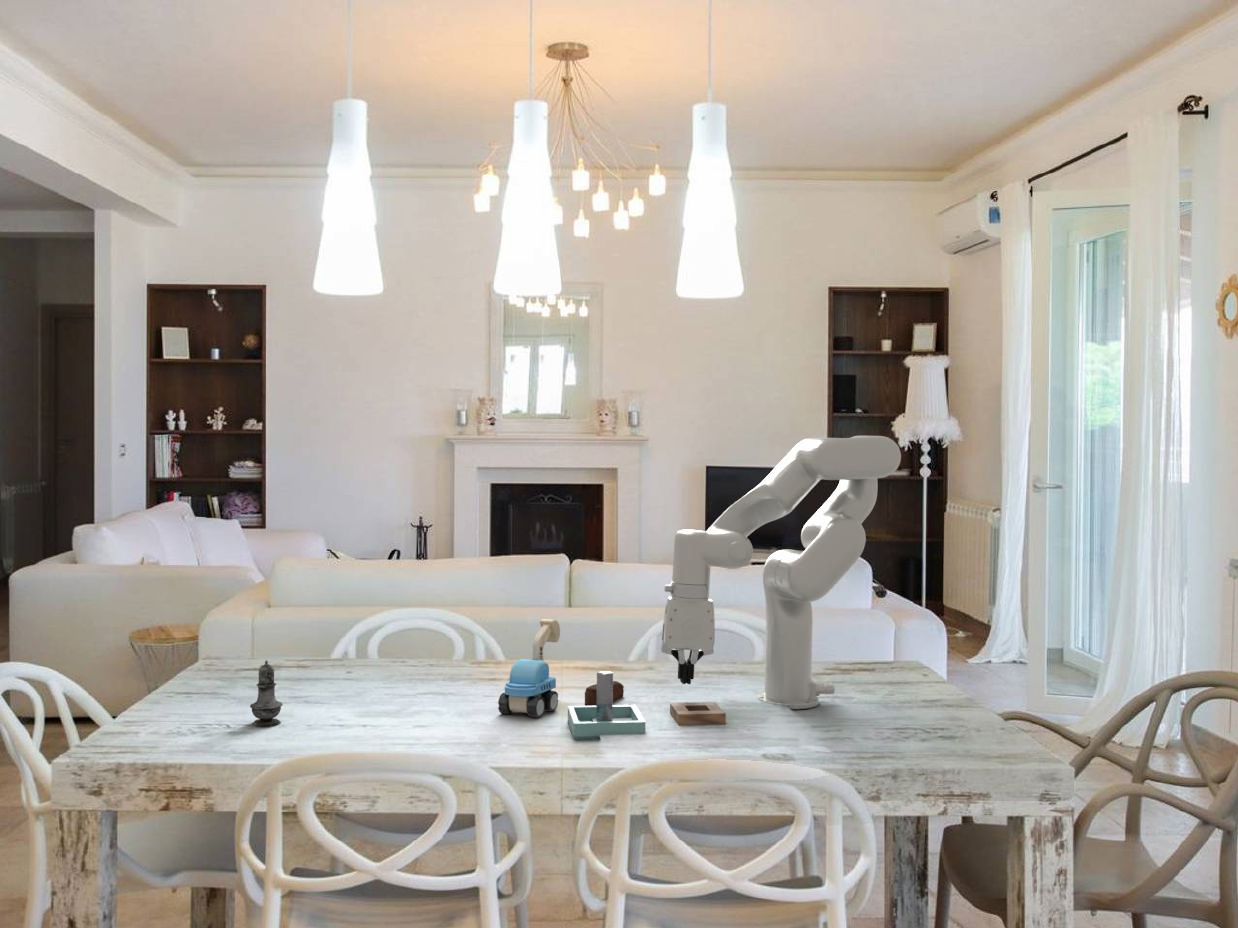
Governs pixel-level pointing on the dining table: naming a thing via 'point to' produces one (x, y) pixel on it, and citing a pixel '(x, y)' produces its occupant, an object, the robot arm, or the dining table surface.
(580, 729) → the tray
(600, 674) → the pin
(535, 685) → the toy excavator
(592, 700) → the brick
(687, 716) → the wooden square frame
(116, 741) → the dining table surface
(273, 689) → the salt shaker
